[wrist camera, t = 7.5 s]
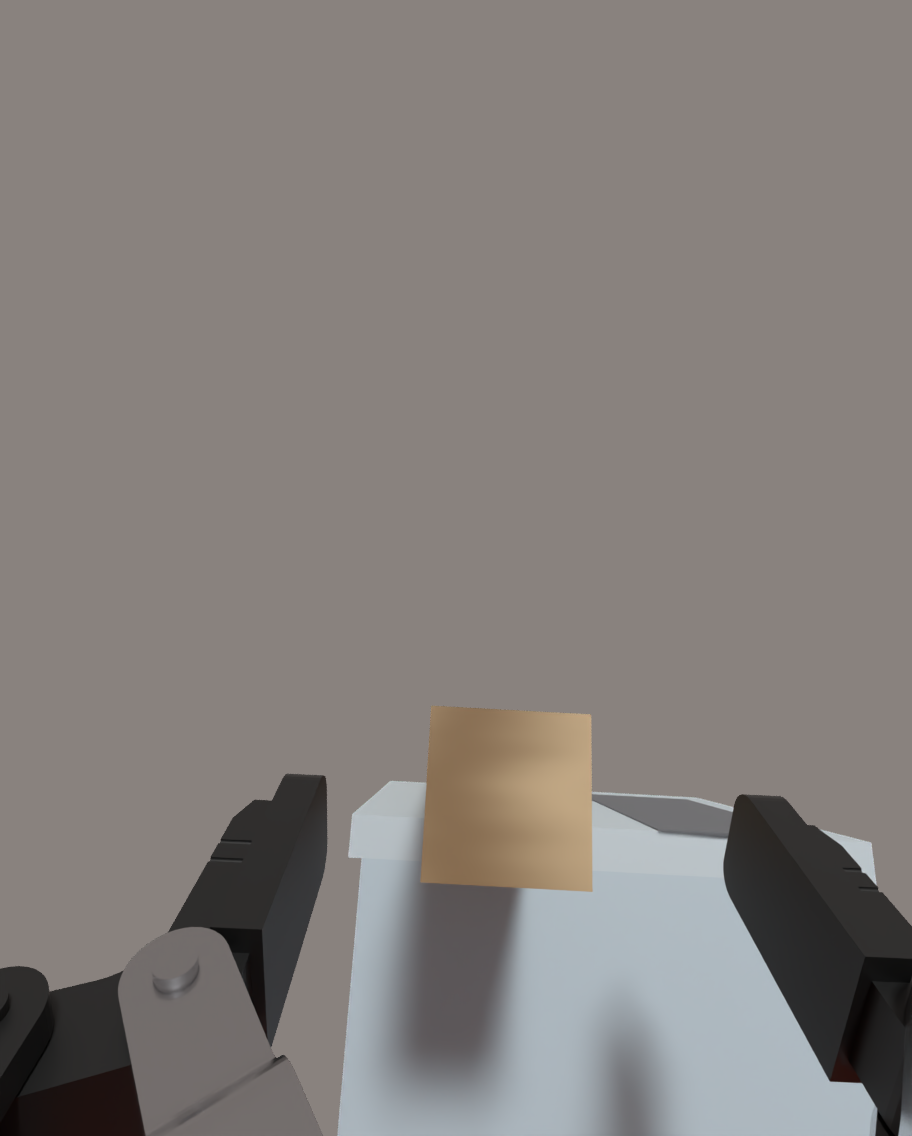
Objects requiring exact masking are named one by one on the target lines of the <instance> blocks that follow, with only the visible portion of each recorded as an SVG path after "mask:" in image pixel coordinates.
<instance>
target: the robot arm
mask: <svg viewBox="0 0 912 1136" xmlns="http://www.w3.org/2000/svg"><path fill="white" fill-rule="evenodd" d="M326 854H327V786H326V778H325V776H322V775H301V774H286V775H285V776H284V778H283V779H282V781H281V783H280V785H279V787H278V789H277V791H276V793H275V796H274V798H273V800H272V801H267V800H254V801H252V803H250V804H249V805H248V806H246V807H245V808H244V809H243V810H242V811H240V812H239V813H238V814H237V815H236V816H234V817H233V819H232V821H231V822H230V824H229V826H228V827H227V829H226V831H225V833H224V835H223V836H222V838H221V842H220V843H219V844H218V845H217V847H216V849H215V850H214V852H213V854H212V856H211V860H210V862H208V863H207V865H206V866H205V868H204V870H203V872H202V873H201V875H200V877H199V879H198V881H197V882H196V884H195V886H194V887H193V889H192V891H191V893H190V894H189V896H188V898H187V900H186V902H185V903H184V905H183V907H182V909H181V911H180V912H179V914H178V916H177V917H176V919H175V921H174V923H173V924H172V926H171V928H170V930H169V932H168V933H166V934H164V935H162V936H160V937H158V938H156V939H155V940H153V941H151V942H150V943H148V944H147V945H146V946H145V947H143V948H142V949H141V950H140V951H139V952H138V953H137V954H136V955H135V956H134V957H133V958H132V959H131V960H130V962H129V963H128V964H127V966H126V968H125V969H124V971H122V972H120V973H117V974H115V975H113V976H110V977H107V978H104V979H100V980H97V981H93V982H88V983H84V984H80V985H76V986H72V987H67V988H63V989H59V990H55V991H51V992H49V986H48V982H47V980H46V978H45V976H44V975H43V974H42V973H41V972H39V971H37V970H36V969H33V968H29V967H20V966H16V967H7V968H2V969H0V1136H323V1135H322V1133H321V1130H320V1128H319V1125H318V1123H317V1121H316V1118H315V1116H314V1114H313V1111H312V1109H311V1107H310V1104H309V1102H308V1100H307V1098H306V1095H305V1093H304V1091H303V1088H302V1086H301V1084H300V1081H299V1079H298V1077H297V1075H296V1072H295V1070H294V1068H293V1066H292V1065H291V1063H290V1061H289V1060H288V1058H287V1057H286V1056H284V1055H282V1056H280V1057H278V1058H276V1057H275V1055H274V1054H273V1052H272V1049H271V1046H272V1043H273V1040H274V1036H275V1033H276V1030H277V1027H278V1023H279V1020H280V1017H281V1013H282V1010H283V1007H284V1003H285V1000H286V997H287V993H288V990H289V987H290V984H291V980H292V977H293V973H294V970H295V967H296V964H297V961H298V957H299V954H300V950H301V947H302V944H303V940H304V937H305V934H306V931H307V927H308V924H309V921H310V917H311V914H312V911H313V908H314V904H315V901H316V898H317V894H318V891H319V888H320V885H321V881H322V878H323V873H324V869H325V862H326ZM723 873H724V881H725V885H726V889H727V892H728V894H729V897H730V899H731V901H732V902H733V904H734V906H735V908H736V910H737V912H738V913H739V915H740V917H741V919H742V921H743V923H744V925H745V926H746V928H747V930H748V932H749V934H750V936H751V937H752V939H753V941H754V943H755V945H756V947H757V948H758V950H759V952H760V954H761V956H762V958H763V960H764V961H765V963H766V965H767V967H768V969H769V971H770V972H771V974H772V976H773V978H774V980H775V982H776V983H777V985H778V987H779V989H780V991H781V993H782V995H783V996H784V998H785V1000H786V1002H787V1004H788V1006H789V1007H790V1009H791V1011H792V1013H793V1015H794V1017H795V1018H796V1020H797V1022H798V1024H799V1026H800V1028H801V1030H802V1031H803V1033H804V1035H805V1037H806V1039H807V1041H808V1042H809V1044H810V1046H811V1048H812V1050H813V1052H814V1053H815V1055H816V1057H817V1059H818V1061H819V1063H820V1065H821V1066H822V1068H823V1070H824V1072H825V1074H826V1076H827V1077H828V1079H829V1081H830V1082H847V1083H862V1084H863V1086H864V1087H865V1089H866V1091H867V1092H868V1094H869V1096H870V1098H871V1099H872V1101H873V1103H874V1104H875V1105H874V1109H873V1112H872V1116H871V1123H870V1134H869V1136H912V926H911V925H910V924H909V923H908V922H907V920H906V919H905V918H904V917H903V916H902V915H901V914H900V912H899V911H898V910H897V909H896V908H895V906H894V905H893V904H892V903H891V902H890V901H889V900H888V898H887V897H886V896H885V895H884V894H883V893H882V892H879V891H878V887H877V886H876V884H875V883H874V882H873V881H872V880H871V879H870V878H869V876H868V875H867V874H866V873H862V868H861V867H860V866H859V865H858V864H857V862H856V861H855V860H854V859H853V858H852V857H851V856H850V854H849V853H848V852H847V851H846V850H845V849H844V847H843V846H842V845H840V844H839V843H838V842H836V841H835V840H833V839H832V838H831V837H829V836H828V835H827V834H825V833H824V832H822V831H821V830H820V829H818V828H817V827H815V826H813V825H812V826H811V825H807V824H806V823H805V822H804V821H803V820H802V818H801V817H800V816H799V815H798V814H797V812H796V811H795V810H794V809H793V807H792V806H791V805H790V804H789V803H788V801H787V800H786V799H784V798H783V797H781V796H762V795H739V796H738V797H737V799H736V801H735V804H734V809H733V814H732V819H731V824H730V829H729V834H728V840H727V845H726V850H725V855H724V861H723Z"/></svg>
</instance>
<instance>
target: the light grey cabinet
mask: <svg viewBox="0 0 912 1136" xmlns="http://www.w3.org/2000/svg"><path fill="white" fill-rule="evenodd" d="M426 784H427V783H420V782H403V781H390V782H389V783H388V784H386V785H385V786H384V787H383V788H382V789H381V790H380V791H379V792H377V793H376V794H375V795H374V796H373V797H372V798H370V799H369V800H368V801H367V802H366V803H365V804H363V805H362V806H361V807H360V808H359V809H358V810H357V811H355V812H354V813H353V814H352V824H351V835H350V845H349V855H348V857H352V858H362V861H361V872H360V883H359V895H358V907H357V918H356V929H355V941H354V952H353V964H352V975H351V986H350V998H349V1010H348V1021H347V1032H346V1044H345V1055H344V1067H343V1078H342V1089H341V1101H340V1112H339V1124H338V1135H337V1136H869V1134H870V1123H871V1116H872V1112H873V1109H874V1105H875V1104H874V1103H873V1101H872V1099H871V1098H870V1096H869V1094H868V1092H867V1091H866V1089H865V1087H864V1086H863V1084H862V1083H847V1082H830V1081H829V1079H828V1077H827V1076H826V1074H825V1072H824V1070H823V1068H822V1066H821V1065H820V1063H819V1061H818V1059H817V1057H816V1055H815V1053H814V1052H813V1050H812V1048H811V1046H810V1044H809V1042H808V1041H807V1039H806V1037H805V1035H804V1033H803V1031H802V1030H801V1028H800V1026H799V1024H798V1022H797V1020H796V1018H795V1017H794V1015H793V1013H792V1011H791V1009H790V1007H789V1006H788V1004H787V1002H786V1000H785V998H784V996H783V995H782V993H781V991H780V989H779V987H778V985H777V983H776V982H775V980H774V978H773V976H772V974H771V972H770V971H769V969H768V967H767V965H766V963H765V961H764V960H763V958H762V956H761V954H760V952H759V950H758V948H757V947H756V945H755V943H754V941H753V939H752V937H751V936H750V934H749V932H748V930H747V928H746V926H745V925H744V923H743V921H742V919H741V917H740V915H739V913H738V912H737V910H736V908H735V906H734V904H733V902H732V901H731V899H730V897H729V894H728V892H727V889H726V885H725V881H724V873H723V861H724V855H725V850H726V845H727V840H728V834H729V829H730V824H731V819H732V814H733V809H734V807H731V806H727V805H724V804H719V803H716V802H712V801H708V800H704V799H700V798H695V797H675V796H657V795H640V794H622V793H603V792H592V889H593V892H586V891H567V890H549V889H531V888H512V887H494V886H476V885H458V884H439V883H421V882H420V879H421V863H422V847H423V831H424V815H425V799H426ZM821 831H822V832H824V833H825V834H827V835H828V836H829V837H831V838H832V839H833V840H835V841H836V842H838V843H839V844H840V845H842V846H843V847H844V849H845V850H846V851H847V852H848V853H849V854H850V856H851V857H852V858H853V859H854V860H855V861H856V862H857V864H858V865H859V866H860V867H861V868H862V873H866V874H867V875H868V876H869V878H870V879H871V880H872V881H873V882H874V883H875V884H876V878H875V869H874V861H873V853H872V845H871V842H867V841H863V840H859V839H855V838H851V837H848V836H844V835H840V834H836V833H832V832H828V831H824V830H821ZM876 886H877V885H876Z"/></svg>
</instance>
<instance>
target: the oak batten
mask: <svg viewBox="0 0 912 1136" xmlns="http://www.w3.org/2000/svg"><path fill="white" fill-rule="evenodd" d="M591 766H592V763H591V715H589V714H571V713H554V712H535V711H517V710H498V709H481V708H480V709H479V708H463V707H445V706H431V720H430V736H429V753H428V769H427V784H426V799H425V815H424V831H423V847H422V863H421V879H420V882H421V883H439V884H458V885H476V886H494V887H512V888H531V889H549V890H567V891H586V892H593V889H592V767H591Z"/></svg>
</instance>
